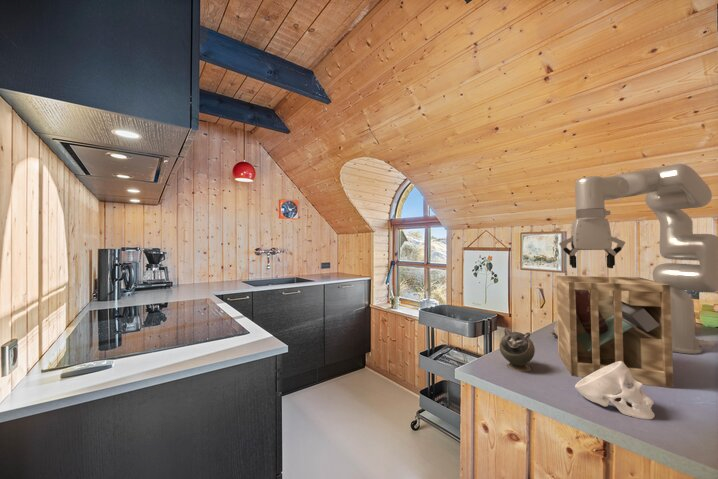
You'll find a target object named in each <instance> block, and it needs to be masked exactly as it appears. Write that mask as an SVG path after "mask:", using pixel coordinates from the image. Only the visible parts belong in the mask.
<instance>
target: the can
mask: <svg viewBox="0 0 718 479" xmlns="http://www.w3.org/2000/svg"><path fill="white" fill-rule="evenodd" d="M575 298H576V314H577V316H578V318H579V319H580V321H581V323H582V325H583V327H584V329H585V331H586V332H587V333H588V334H591V308H590V293H589V291H588V290H580V289H575ZM598 315H599V334H600V333H603V332H605V331H607V330H608V326H607V324H606V322H605V320H604V319H603V317H602V315H601V313H600V311H599V309H598Z"/></svg>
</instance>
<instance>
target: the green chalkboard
mask: <svg viewBox="0 0 718 479" xmlns="http://www.w3.org/2000/svg"><path fill="white" fill-rule="evenodd" d="M612 306H613V304H612ZM622 316H623V317H624V318H625V319H624V318H622V328H623V332H625V331H627V330H628V329H630V328H632V327H634V328H636V327H637V326H638V327H640V328H641V329H643V330H645V331H647V332H649V331H651V330H653V329H654V328H656V327H658V326H660V324H659V323H658V322H657V321H656V320H655V319H654V318H653V317H652V316H651V315H650V314H649V313H648V312H647V311H646V310H645V309H644V308H642V307H639V306H636V305H629V304H627V303H625V302H622ZM627 320H628V321H627ZM605 322H606V324H607V326H608V330H607V331H605V332H603V333H600V334H599V346H600V345H602V344H604V343H605V342H607V341H609V340H611V339H613V338H614V313H613V316H611V317H610V318H608V319H606V320H605ZM634 324H635V325H634ZM577 339H578V340H579V341H580V343H581V344H582V345H583V346H584V347H585V348H586V349H587V350H588V351H589V352H590V351H591V350H592V341H591V334H588V333H587V332H584V333H582V334H581V335H579V336H577Z"/></svg>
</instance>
